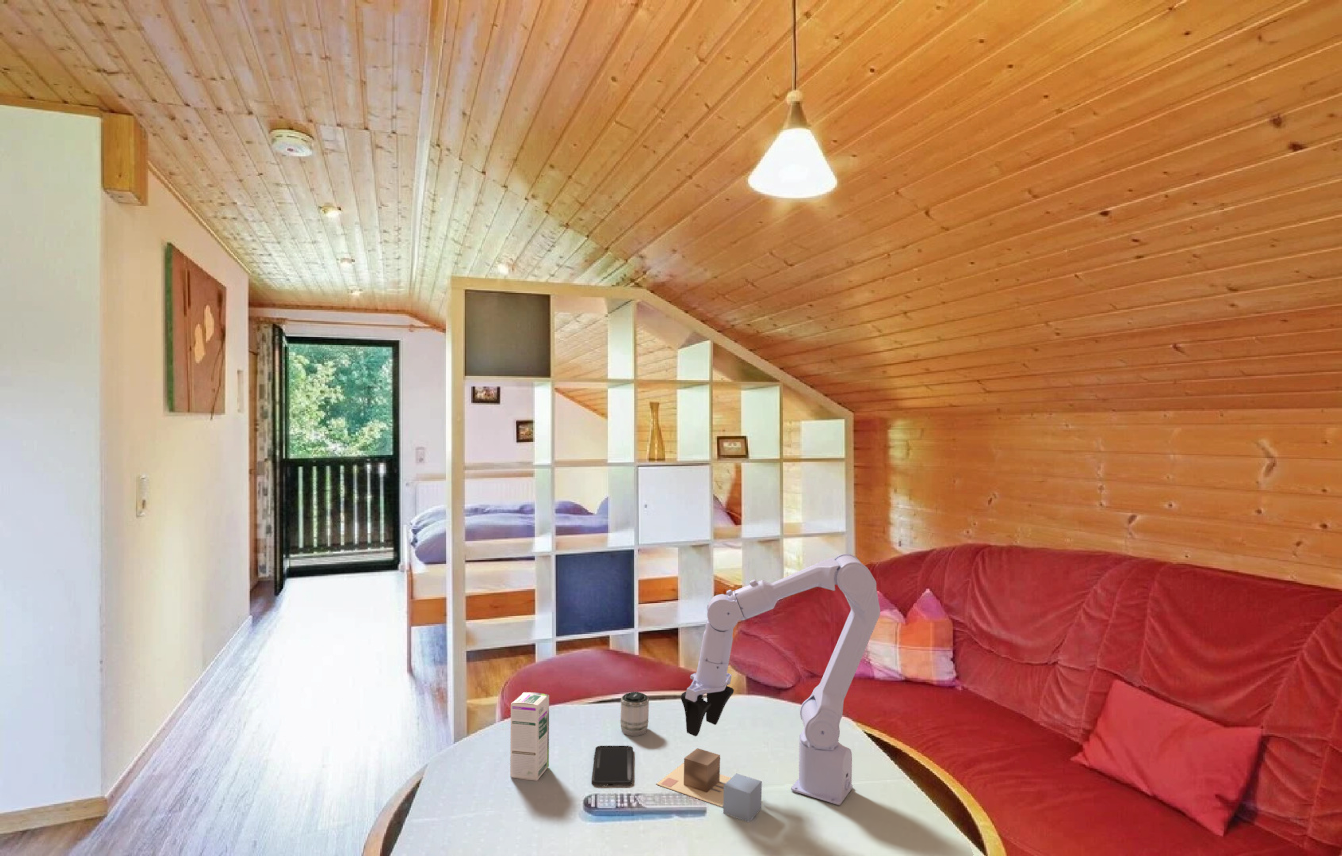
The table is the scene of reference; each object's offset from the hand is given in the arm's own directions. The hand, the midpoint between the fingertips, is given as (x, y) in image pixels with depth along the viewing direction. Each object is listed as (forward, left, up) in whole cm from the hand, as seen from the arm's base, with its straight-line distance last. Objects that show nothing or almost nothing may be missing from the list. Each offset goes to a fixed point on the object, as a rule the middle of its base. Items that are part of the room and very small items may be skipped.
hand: (701, 728), depth 132 cm
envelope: (-1, +1, -10) cm, 10 cm away
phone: (+17, +5, -11) cm, 21 cm away
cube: (-11, +5, -10) cm, 16 cm away
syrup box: (+29, +16, -10) cm, 35 cm away
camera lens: (+23, -11, -10) cm, 28 cm away
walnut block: (-1, +1, -10) cm, 10 cm away
